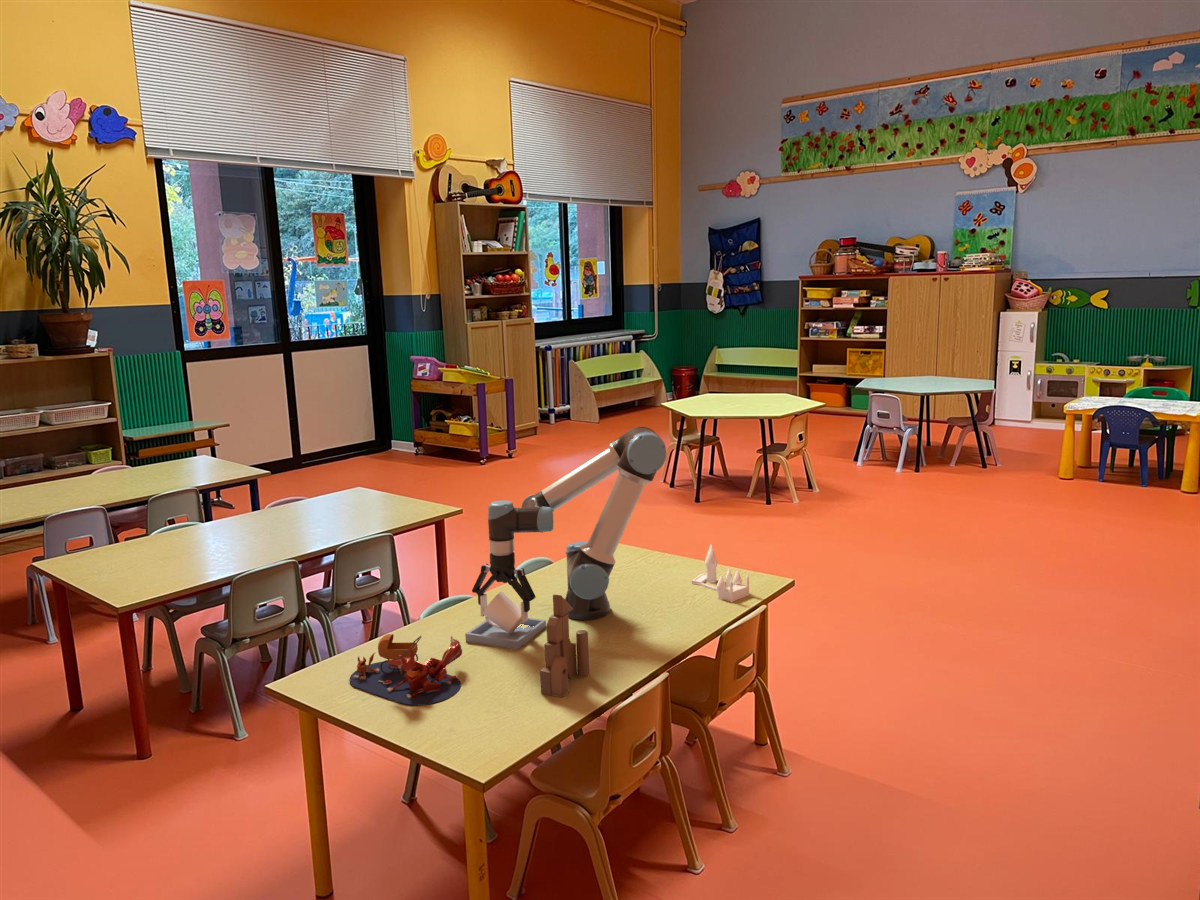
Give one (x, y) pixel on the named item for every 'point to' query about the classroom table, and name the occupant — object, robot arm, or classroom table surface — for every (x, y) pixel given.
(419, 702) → the toy playset
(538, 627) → the tray
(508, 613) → the mug
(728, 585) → the toy castle
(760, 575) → the classroom table surface
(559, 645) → the wooden toy
